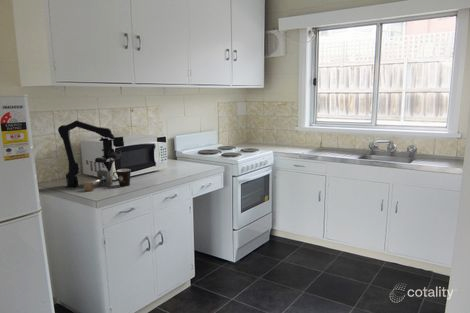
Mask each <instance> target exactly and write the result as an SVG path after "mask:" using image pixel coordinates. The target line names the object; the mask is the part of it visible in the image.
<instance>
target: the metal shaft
mask: <svg viewBox="0 0 470 313" xmlns="http://www.w3.org/2000/svg"><path fill="white" fill-rule="evenodd" d="M110 177H111V185H113V175H112V176H111V175H110ZM101 182H105V183H106V179H105V176H103V178H101V179H98V178H97V179H94V180H91V181H84V183H83V185H84V187H83V188H84V191H85V190H86V191H85V192H93V191H94V186H95V185H98V183H101Z"/></svg>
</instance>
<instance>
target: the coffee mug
mask: <svg viewBox="0 0 470 313" xmlns="http://www.w3.org/2000/svg"><path fill="white" fill-rule="evenodd" d="M115 173H116V175H117V176H115ZM131 173H132V172H131V168H130V169H129V168H120V169H117V170H116V171H114V172H113V173H112V177H114V178H115V179H116V180H117V181H118V184H119V187H122V188H123V187H125V186H126V187H129V186H130V185H131V175H132V174H131Z"/></svg>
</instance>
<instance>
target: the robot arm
mask: <svg viewBox="0 0 470 313" xmlns="http://www.w3.org/2000/svg"><path fill="white" fill-rule="evenodd" d="M76 128H79V129H83V130H86V131H90V132H92V133H95V134H98V135H99V136H101V138H100V139H99V142H102V149H101V152H103V154H102V156H98V157H95V159H94V163H99V164H103V165H104V166H105V168H106V171H110V172H111V170H112V166H113V163H115V162H116V160H119V159H122V153H123V152H122V151H121V150H118V151H115V148H124V147H125V142H124V141H125V140H124V136H123V135H122V136H115V135H114V134H113V133H112V130H111V128H109V127H102V126H101V127H100V126H95V125H92V124H89V123H87V122H83V121H80V120H73V122H71V123H68V124H62V125H60V126H59V127H58V128H57V132H58V134H59V136H60V138H61V139H62V141H63V146H64V150H65V153H66V156H67V160H68V171H67V173H65V174H66V175H65V179H66V180H65V181H66V185H65V186H64V188H70V187H73V188H76V187H79V185H80V184H79V179H78V176H77V175H78V174H79V173H80V171H81V165H80V161H77V160H76V158H75V153H74V148H73V145H72V143H71V130H73V129H76ZM113 147H115V148H113Z"/></svg>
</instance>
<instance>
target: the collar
mask: <svg viewBox="0 0 470 313" xmlns="http://www.w3.org/2000/svg"><path fill="white" fill-rule="evenodd" d="M96 174H97V179H101V178H104V176H105V179H106V183H105V182H101V183H98V184H97V185H98V186H103V187H109V186H112V184H111V177H110V176H111V170H110V171H108V170H103V169H100V170H97V171H96Z"/></svg>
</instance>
